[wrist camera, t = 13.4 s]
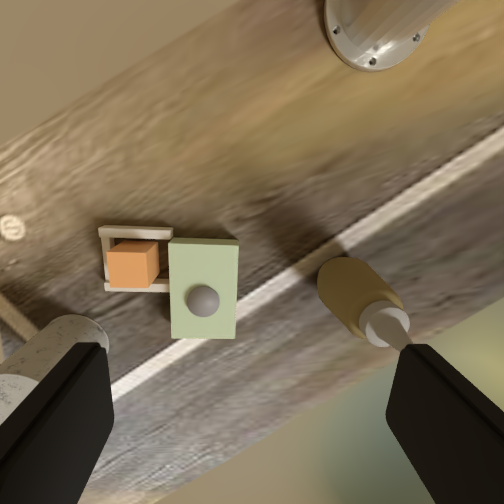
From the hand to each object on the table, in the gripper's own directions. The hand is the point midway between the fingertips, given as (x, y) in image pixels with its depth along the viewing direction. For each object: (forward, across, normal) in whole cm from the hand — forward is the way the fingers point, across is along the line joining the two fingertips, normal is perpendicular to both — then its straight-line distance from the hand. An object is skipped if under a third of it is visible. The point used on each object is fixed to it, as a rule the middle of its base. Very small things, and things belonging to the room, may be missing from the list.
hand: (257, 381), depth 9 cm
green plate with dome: (+30, +9, +9) cm, 33 cm away
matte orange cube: (+30, +13, +6) cm, 34 cm away
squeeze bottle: (+31, -15, +8) cm, 35 cm away
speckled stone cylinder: (+31, +24, +20) cm, 44 cm away
